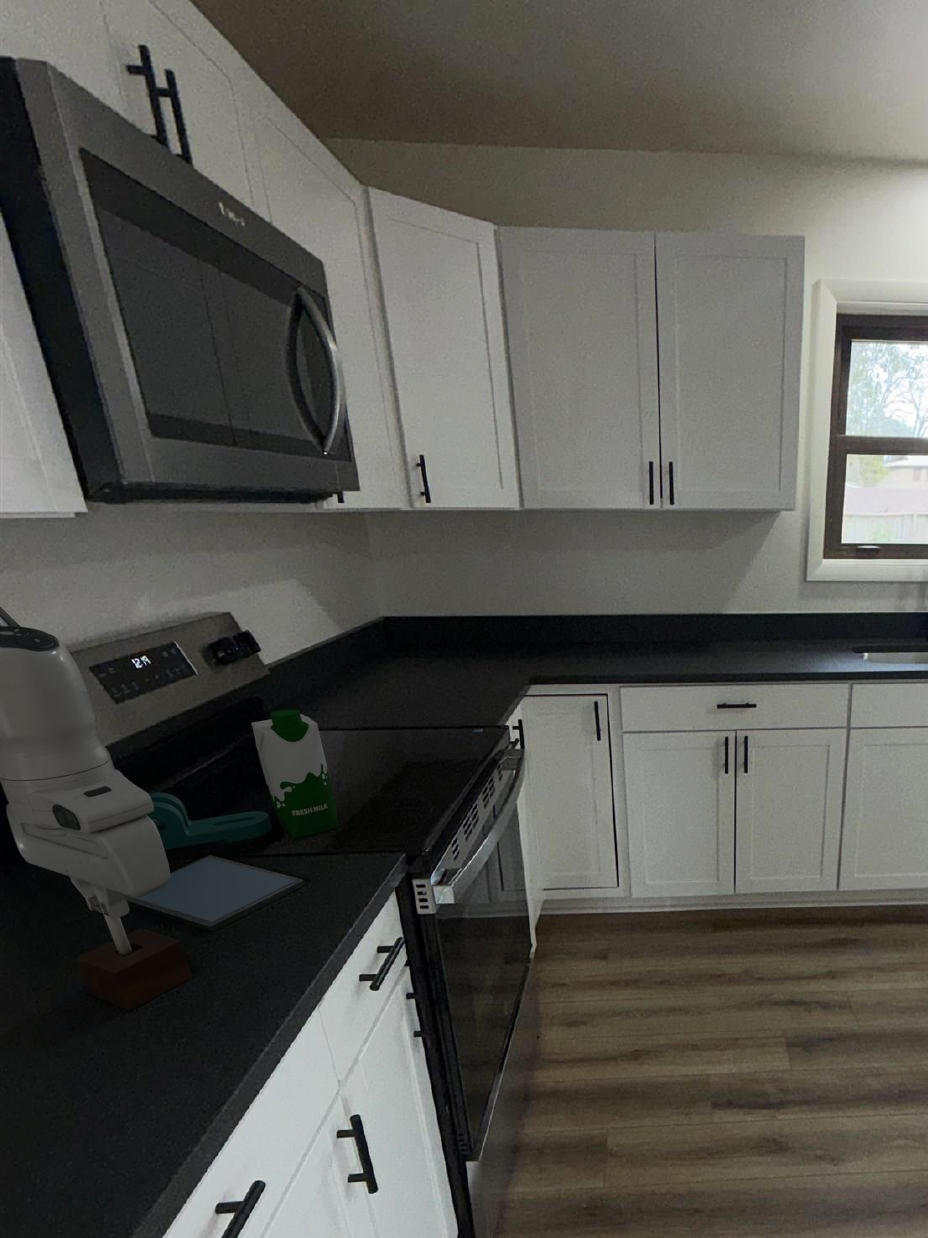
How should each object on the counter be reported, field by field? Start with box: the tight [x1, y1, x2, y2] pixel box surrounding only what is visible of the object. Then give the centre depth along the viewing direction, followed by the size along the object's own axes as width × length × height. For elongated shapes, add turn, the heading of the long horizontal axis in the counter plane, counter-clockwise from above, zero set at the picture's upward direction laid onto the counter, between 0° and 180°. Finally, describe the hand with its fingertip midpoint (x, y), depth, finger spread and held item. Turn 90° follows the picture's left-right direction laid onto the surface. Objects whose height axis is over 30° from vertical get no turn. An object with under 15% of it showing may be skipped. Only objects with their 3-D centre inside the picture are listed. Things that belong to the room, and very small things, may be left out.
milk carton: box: [251, 708, 340, 840], centre depth 125 cm, size 9×9×20 cm
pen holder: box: [75, 927, 193, 1012], centre depth 87 cm, size 7×7×5 cm
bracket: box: [146, 791, 273, 851], centre depth 123 cm, size 18×7×8 cm, turn 119°
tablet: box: [126, 854, 306, 933], centre depth 108 cm, size 20×14×1 cm
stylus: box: [92, 884, 133, 956], centre depth 84 cm, size 1×1×12 cm
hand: (110, 912), depth 84 cm, fingers closed on stylus, 1 cm apart
